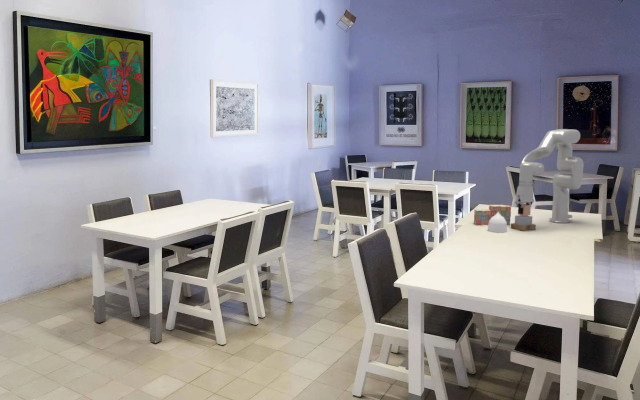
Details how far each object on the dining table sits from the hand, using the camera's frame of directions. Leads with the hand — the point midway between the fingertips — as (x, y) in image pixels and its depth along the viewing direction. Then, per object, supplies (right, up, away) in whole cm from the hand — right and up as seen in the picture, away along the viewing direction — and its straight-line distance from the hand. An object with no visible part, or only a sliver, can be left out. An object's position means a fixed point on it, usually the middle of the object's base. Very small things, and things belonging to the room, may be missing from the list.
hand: (524, 213), depth 334 cm
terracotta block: (0, -1, 0) cm, 1 cm away
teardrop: (-18, -11, -4) cm, 21 cm away
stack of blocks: (-15, -8, +16) cm, 23 cm away
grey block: (0, -7, +1) cm, 7 cm away
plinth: (0, -10, +1) cm, 10 cm away
